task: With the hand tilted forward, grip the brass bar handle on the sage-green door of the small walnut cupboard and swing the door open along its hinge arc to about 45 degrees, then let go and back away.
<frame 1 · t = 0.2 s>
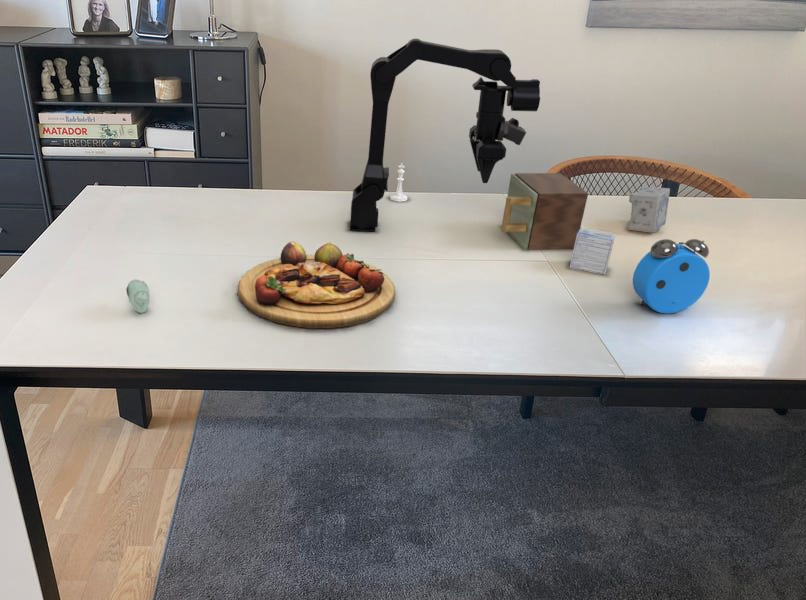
hand: (482, 177, 169), 14 cm above the table, tool pointing down, fingers open, 9 cm apart
door: (507, 211, 171), point 7 cm above the table, hinge at 0.0°
cupboard: (539, 237, 176), on the table
alarm clock: (661, 309, 144), on the table
chess piece: (398, 199, 198), on the table
medicine box: (587, 269, 161), on the table
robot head: (140, 313, 134), on the table
incense holder: (642, 229, 185), on the table
wooden plate: (316, 295, 144), on the table
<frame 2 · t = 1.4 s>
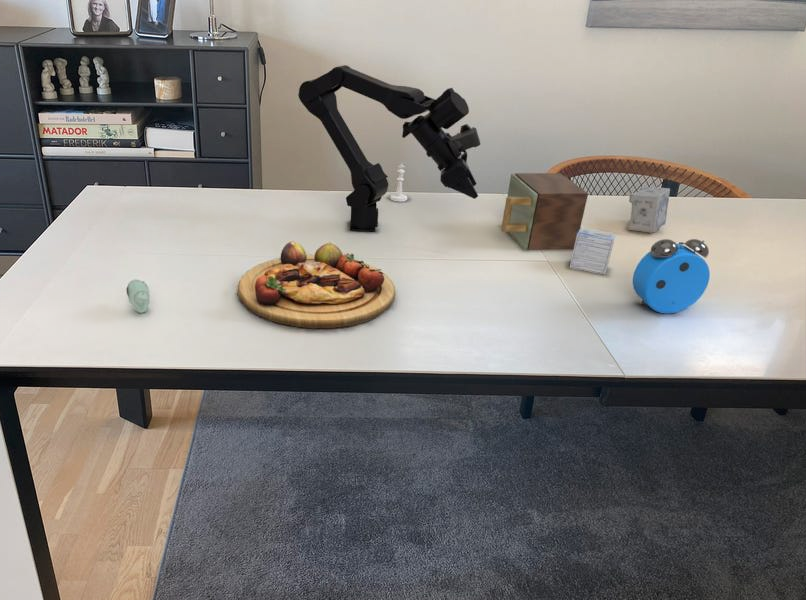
hand: (475, 191, 163), 13 cm above the table, tool tilted 45°, fingers open, 9 cm apart
nothing on the table moved.
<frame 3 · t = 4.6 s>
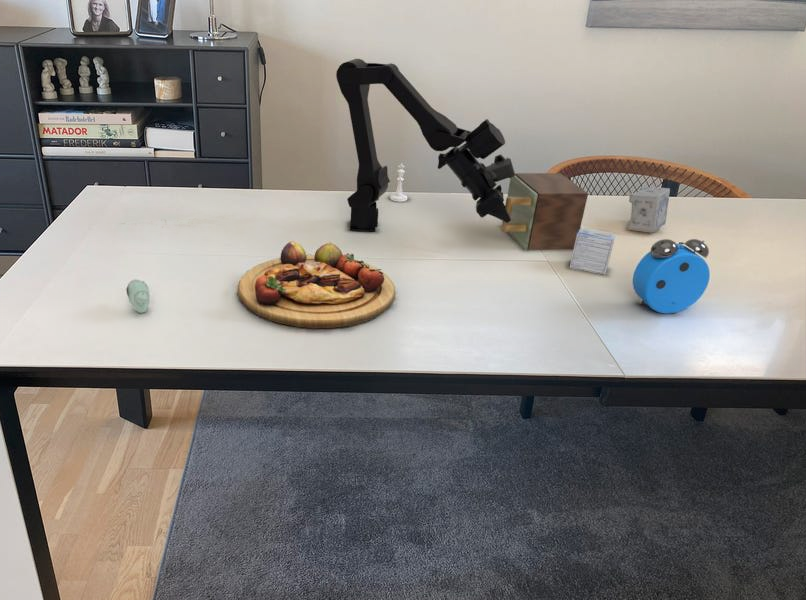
hand: (508, 219, 166), 7 cm above the table, tool tilted 45°, fingers closed on door, 2 cm apart
door: (507, 211, 171), point 7 cm above the table, hinge at 0.0°, touching gripper
everything else where it was.
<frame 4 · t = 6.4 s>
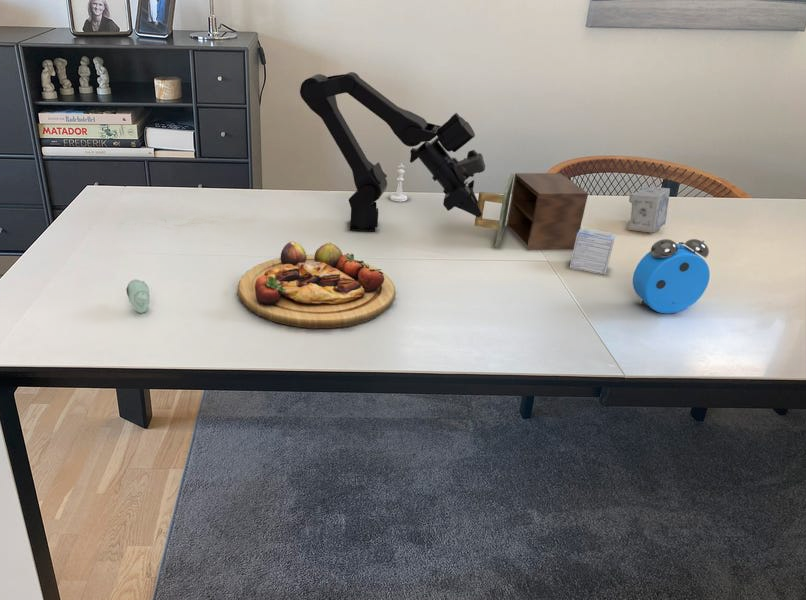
hand: (480, 214, 168), 7 cm above the table, tool tilted 45°, fingers closed on door, 2 cm apart
door: (492, 208, 173), point 7 cm above the table, hinge at 25.4°, touching gripper
everything else where it was.
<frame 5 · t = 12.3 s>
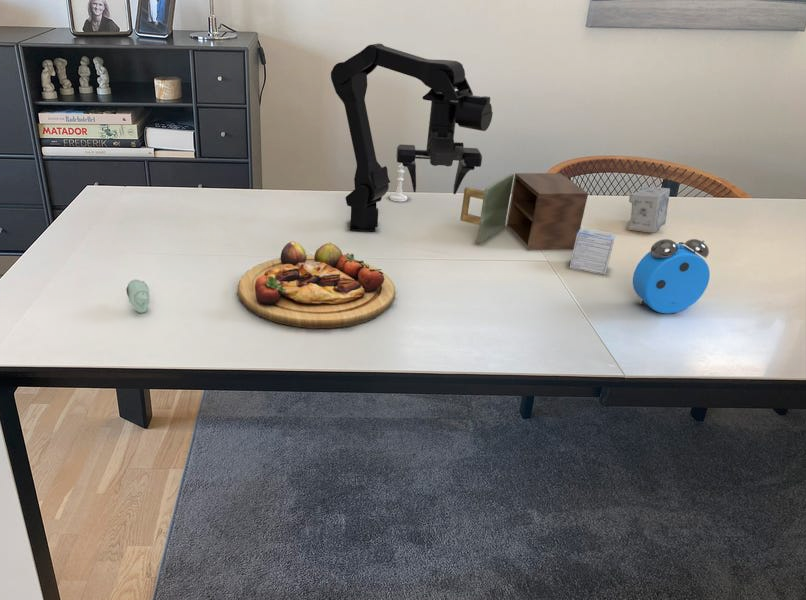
hand: (434, 192, 162), 13 cm above the table, tool pointing down, fingers open, 9 cm apart
door: (484, 205, 174), point 7 cm above the table, hinge at 41.9°
everything else where it was.
at the end: door at +42° (first picture: +0°); the gripper is holding nothing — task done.
